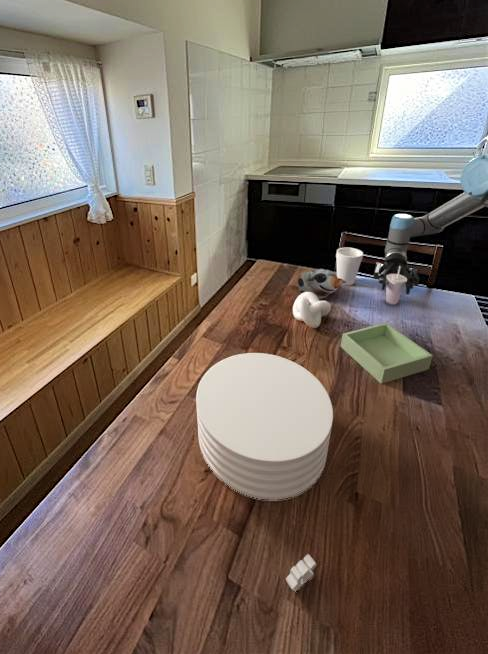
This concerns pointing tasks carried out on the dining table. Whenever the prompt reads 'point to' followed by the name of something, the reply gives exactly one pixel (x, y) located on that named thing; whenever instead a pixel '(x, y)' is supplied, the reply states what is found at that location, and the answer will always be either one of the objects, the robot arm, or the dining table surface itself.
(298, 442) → the plate stack
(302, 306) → the white puffy blob
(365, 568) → the dining table surface
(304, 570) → the white stepped block
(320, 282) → the grey animal head
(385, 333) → the bin
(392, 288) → the smoothie
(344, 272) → the foam cup
